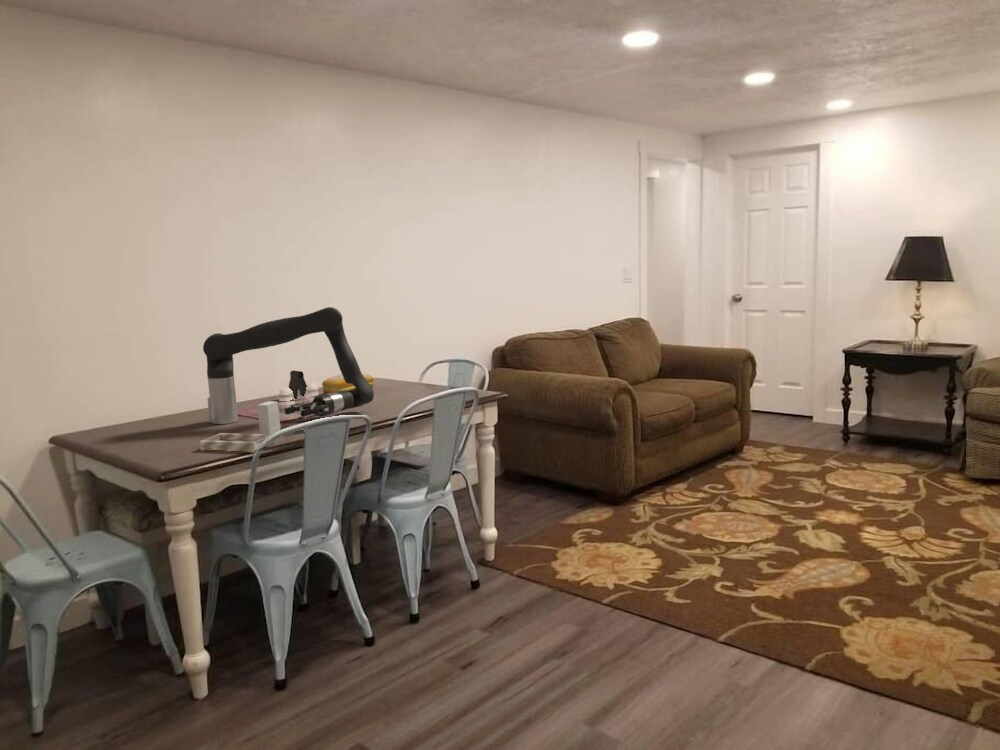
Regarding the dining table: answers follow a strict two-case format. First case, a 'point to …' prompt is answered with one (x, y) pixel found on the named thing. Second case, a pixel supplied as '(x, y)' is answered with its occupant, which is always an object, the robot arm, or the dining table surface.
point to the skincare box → (268, 417)
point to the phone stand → (297, 383)
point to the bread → (341, 384)
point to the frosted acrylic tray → (233, 442)
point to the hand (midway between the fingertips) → (293, 412)
